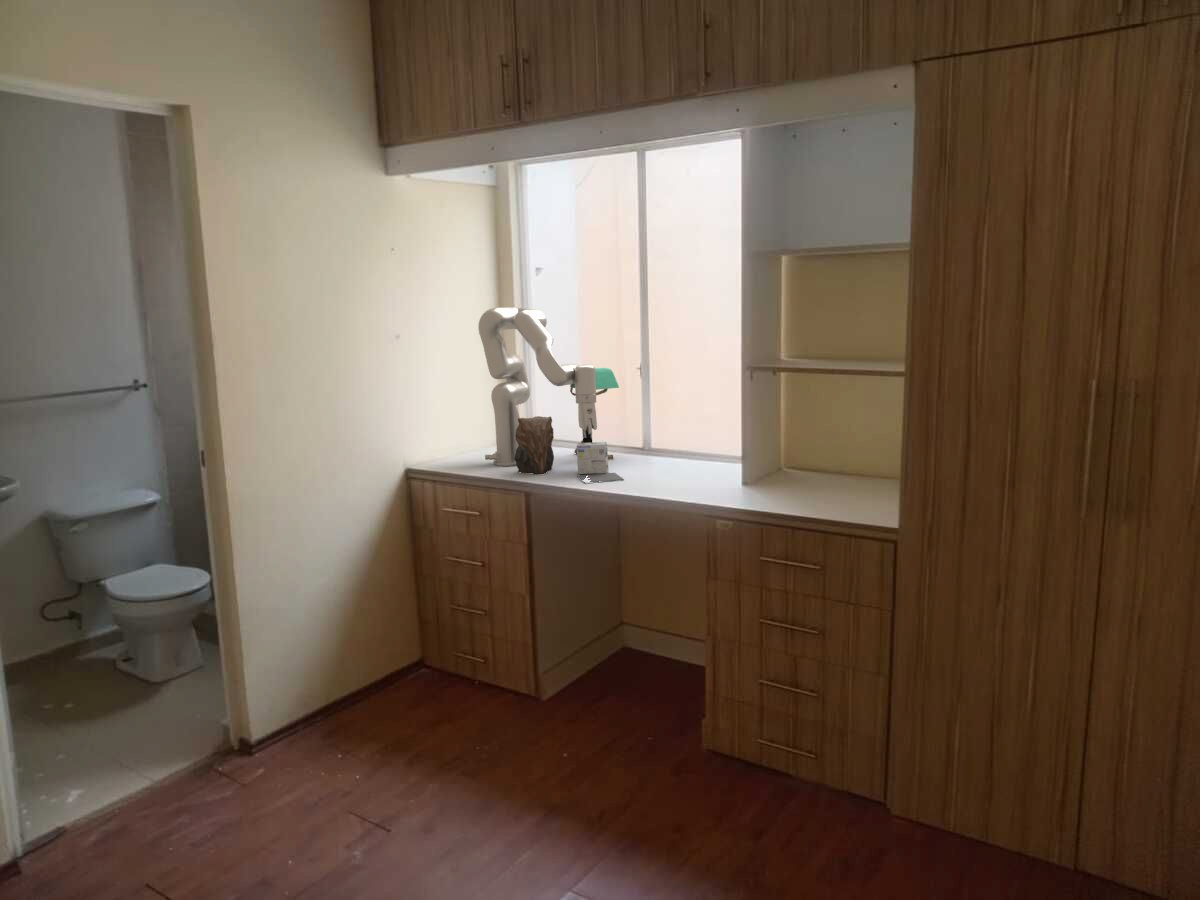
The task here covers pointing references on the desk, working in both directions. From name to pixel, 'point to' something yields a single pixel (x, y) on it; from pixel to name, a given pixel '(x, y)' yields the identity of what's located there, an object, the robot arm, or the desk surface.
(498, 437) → the robot arm
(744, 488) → the desk surface
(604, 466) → the light bulb box
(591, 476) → the mat
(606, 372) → the banker's lamp
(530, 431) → the owl
